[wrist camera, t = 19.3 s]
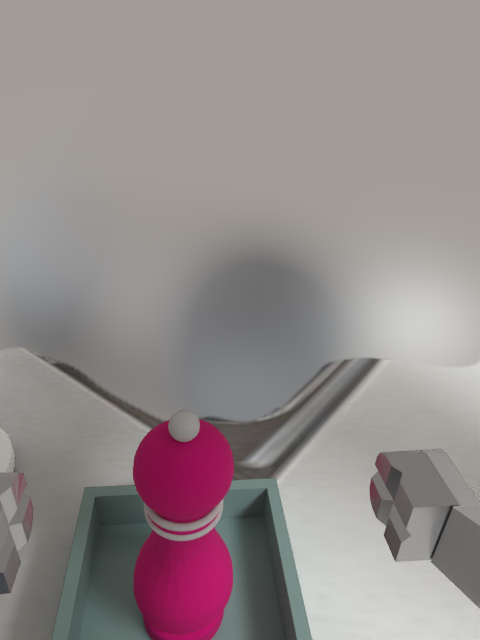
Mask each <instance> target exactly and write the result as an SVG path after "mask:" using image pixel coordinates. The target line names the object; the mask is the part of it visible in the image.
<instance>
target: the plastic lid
mask: <svg viewBox="0 0 480 640" xmlns="http://www.w3.org/2000/svg"><path fill="white" fill-rule="evenodd" d="M13 468H15V453H14V449H13V446H12V442H11V439H10V438H9V435H7V433H6V432H5V431H4V429H1V427H0V473H11V472H14V469H13Z"/></svg>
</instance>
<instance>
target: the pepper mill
mask: <svg viewBox="0 0 480 640" xmlns="http://www.w3.org/2000/svg"><path fill="white" fill-rule="evenodd" d="M233 473H234V463H233V455H232V451H231V448H230V445H229V443H228V442H227V440H226V438H225V437H224V436H223V434H222V433H221V432H220V431H219V430H218V429H217V428H216V427H214V426H213V425H211V424H210V423H208V422H206V421H203V420H201V419H198V417H197V416H196V415H195V414H194V413H193V412H191V411H189V410H180V411H178V412H176V413H175V414H173V416H172V417H171V418H170V420H168V421H165V422H163V423H161V424H159V425H158V426H156V427H155V428H153V429H152V430H151V431H150V432H148V434H147V435H146V436H145V437H144V438H143V440H142V441H141V443H140V444H139V447H138V449H137V451H136V454H135V457H134V465H133V479H134V483H135V486H136V490H137V492H138V494H139V496H140V497H141V499H142V500H143V501H144V513H145V517H146V521H147V522H148V524H149V526H150V527H151V528H152V532H151V534H150V535H149V537H148V538H147V540H146V541H145V543H144V544H143V546H142V548H141V550H140V552H139V555H138V558H137V561H136V564H135V569H134V580H133V588H134V596H135V600H136V603H137V605H138V608H139V610H140V612H141V613H142V614H143V620H144V625H145V628H146V631H147V633H148V634H149V636H150V638H151V639H152V640H211V639H212V638H213V637H214V635H215V634H216V632H217V631H218V629H219V627H220V625H221V622H222V619H223V615H224V608H225V607H226V605H227V603H228V601H229V598H230V595H231V592H232V587H233V565H232V560H231V556H230V553H229V551H228V548H227V546H226V544H225V542H224V541H223V539H222V538H221V536H220V535H219V533H218V532H217V531H216V530H215V525H216V524H217V523H218V521H219V519H220V517H221V514H222V511H223V500H224V497H225V495H226V494H227V492H228V491H229V489H230V486H231V482H232V478H233Z"/></svg>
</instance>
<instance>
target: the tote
mask: <svg viewBox="0 0 480 640" xmlns="http://www.w3.org/2000/svg"><path fill="white" fill-rule="evenodd" d="M215 530H216V531H217V532H218V533H219V535H220V536H221V538H222V539H223V541H224V542H225V544H226V546H227V548H228V551H229V553H230V556H231V560H232V565H233V587H232V592H231V595H230V598H229V601H228V603H227V605H226V607H225V608H224V615H223V619H222V622H221V625H220V627H219V629H218V631H217V632H216V634H215V635H214V637H213V638H212V639H211V640H312V638H311V633H310V629H309V624H308V620H307V615H306V611H305V606H304V602H303V597H302V593H301V588H300V584H299V579H298V575H297V570H296V566H295V561H294V557H293V552H292V548H291V543H290V539H289V535H288V530H287V526H286V521H285V517H284V512H283V508H282V503H281V499H280V494H279V490H278V485H277V481H276V478H273V479H252V480H232V482H231V486H230V489H229V491H228V492H227V494H226V495H225V497H224V500H223V511H222V514H221V517H220V519H219V521H218V523H217V524H216V525H215ZM151 532H152V528H151V527H150V526H149V524H148V522H147V521H146V517H145V513H144V501H143V500H142V499H141V497H140V496H139V494H138V492H137V490H136V486H135V485H127V486H107V487H86V488H85V489H84V494H83V498H82V503H81V507H80V512H79V517H78V521H77V526H76V530H75V535H74V539H73V544H72V548H71V553H70V557H69V562H68V567H67V571H66V576H65V580H64V585H63V589H62V594H61V598H60V603H59V608H58V612H57V617H56V621H55V626H54V630H53V635H52V639H51V640H152V639H151V638H150V636H149V634H148V633H147V631H146V628H145V625H144V620H143V614H142V613H141V612H140V610H139V608H138V605H137V603H136V600H135V596H134V588H133V580H134V569H135V564H136V561H137V558H138V555H139V552H140V550H141V548H142V546H143V544H144V543H145V541H146V540H147V538H148V537H149V535H150V534H151Z"/></svg>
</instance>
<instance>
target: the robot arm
mask: <svg viewBox="0 0 480 640" xmlns="http://www.w3.org/2000/svg"><path fill="white" fill-rule="evenodd" d="M375 465H376V467H377V469H378V472H377V473H376V474H375V475H374V476H373V477H372V479H371V483H370V500H371V504H372V508H373V510H374V513H375V515H376V518H377V519H378V520H380V521H381V522H382V523H383V524H385V525H386V529H385V533H384V537H385V539H386V541H387V543H388V546H389V548H390V550H391V553H392V555H393V557H394V560H395V562H400V561H419V560H432V561H431V562H432V563H433V564H434V565H435V566H436V567H437V568H438V569H439V570H440V571H441V572H442V573H443V574H444V575H445V576H446V577H447V578H448V579H449V580H451V581H452V582H453V583H454V584H455V585H456V586H457V587H458V588H459V589H460V590H461V591H462V592H463V593H464V594H465V595H466V596H467V597H468V598H469V599H470V600H471V601H472V602H474V603H475V604H476V605H477V606H478V607H479V608H480V501H479V500H478V498H477V497H476V496H475V494H474V493H473V491H472V490H471V488H470V487H469V485H468V484H467V482H466V481H465V480H464V478H463V477H462V475H461V474H460V472H459V471H458V469H457V468H456V467H455V465H454V464H453V462H452V461H451V459H450V458H449V456H448V455H447V453H446V452H445V451H443V450H442V449H432V450H420V451H419V450H414V451H398V452H383V453H380V454H379V455H378V456H377V459H376V463H375ZM26 484H27V483H26V480H25V477H24V474H23V473H20V472H11V473H0V594H6V593H10V592H11V589H12V586H13V583H14V580H15V577H16V574H17V572H18V569H19V566H20V563H21V561H20V558H19V555H18V551H19V550H20V549H21V548H22V547H23V546H24V545H25V544H26V543H27V541H28V538H29V535H30V532H31V527H32V520H33V507H32V502H31V498H30V497H29V496H27V495H26V494H25V493H23V492H24V490H25V487H26Z"/></svg>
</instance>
